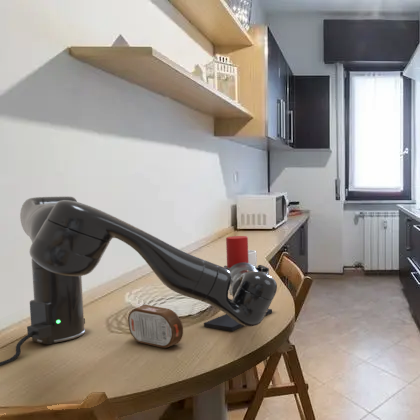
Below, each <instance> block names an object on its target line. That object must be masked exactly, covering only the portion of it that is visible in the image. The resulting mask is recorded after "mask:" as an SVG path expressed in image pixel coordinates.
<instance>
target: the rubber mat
mask: <svg viewBox="0 0 420 420" xmlns="http://www.w3.org/2000/svg"><path fill="white" fill-rule="evenodd" d="M272 313H273V308H268V310H267V312H266V315H265V317H266V316H268V315H271V314H272ZM243 327H245V326H244V325H241V324H240V323H238V322H236V321H235V320H234V319H232V318H231V317H230V316H228V315H227V314H226V313H224V314H222V315H220V316H217V317H215V318H213V319H211V320H208V321H205V322H204V323H203V328H210V329H215V330H222V331H228V332H234V331H236V330H238V329H240V328H243Z"/></svg>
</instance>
